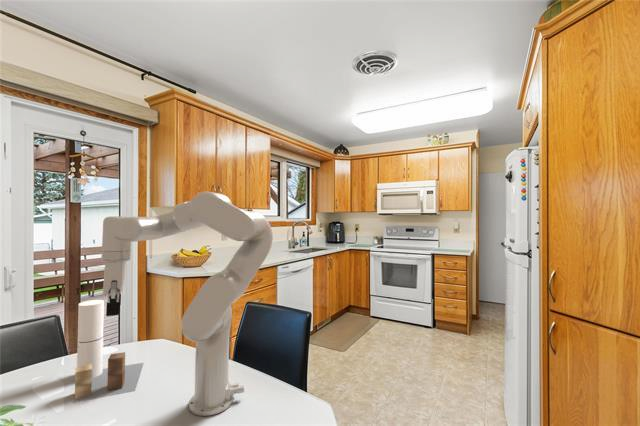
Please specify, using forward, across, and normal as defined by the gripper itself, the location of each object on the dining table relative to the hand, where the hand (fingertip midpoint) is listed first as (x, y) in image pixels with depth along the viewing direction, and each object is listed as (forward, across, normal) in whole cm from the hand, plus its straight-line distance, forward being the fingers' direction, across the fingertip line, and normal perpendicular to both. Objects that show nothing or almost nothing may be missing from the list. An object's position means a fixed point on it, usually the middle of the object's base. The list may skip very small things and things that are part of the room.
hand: (113, 310), depth 94 cm
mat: (+26, -9, 0) cm, 28 cm away
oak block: (+26, -4, -7) cm, 27 cm away
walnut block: (+26, -4, +2) cm, 26 cm away
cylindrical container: (+26, -17, -7) cm, 32 cm away
